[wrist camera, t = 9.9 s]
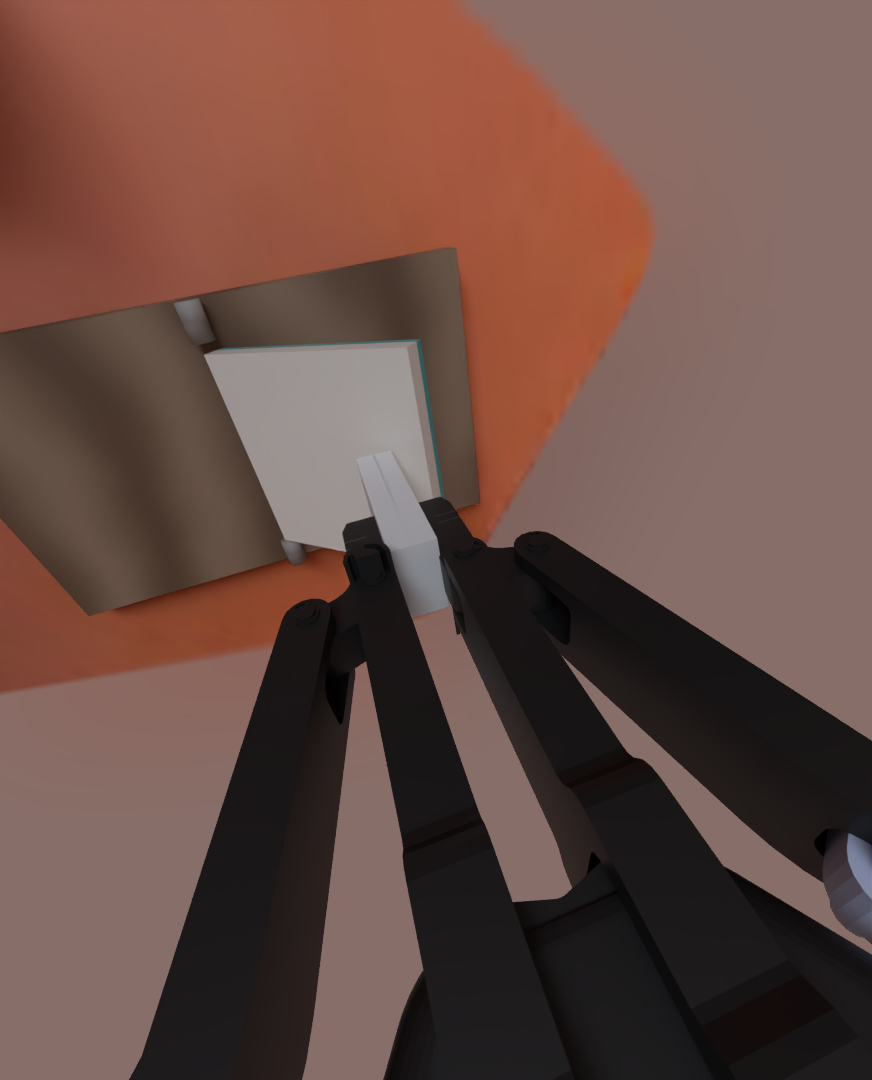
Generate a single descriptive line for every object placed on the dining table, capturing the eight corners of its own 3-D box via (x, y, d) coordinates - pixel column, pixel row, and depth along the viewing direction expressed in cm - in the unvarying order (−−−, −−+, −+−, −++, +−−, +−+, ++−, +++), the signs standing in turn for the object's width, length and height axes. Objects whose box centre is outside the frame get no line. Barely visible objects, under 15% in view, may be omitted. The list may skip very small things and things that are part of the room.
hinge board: (97, 598, 26) (82, 628, 24) (-112, 354, 18) (-162, 368, 16) (472, 492, 30) (486, 510, 28) (446, 247, 21) (463, 248, 19)
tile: (445, 571, 20) (453, 558, 21) (407, 347, 14) (420, 339, 15) (285, 539, 24) (296, 529, 25) (203, 354, 19) (221, 348, 19)
